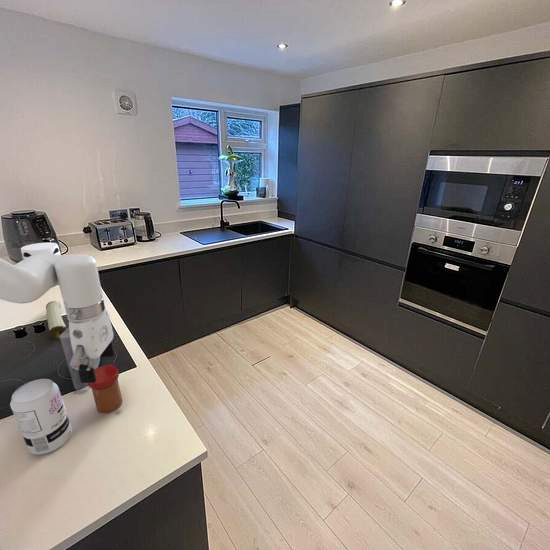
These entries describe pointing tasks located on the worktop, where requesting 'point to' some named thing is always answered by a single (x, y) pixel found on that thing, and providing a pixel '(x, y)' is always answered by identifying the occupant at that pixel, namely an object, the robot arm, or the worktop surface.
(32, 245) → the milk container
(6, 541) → the worktop surface
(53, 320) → the rolling pin
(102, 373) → the jam lid
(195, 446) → the worktop surface
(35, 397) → the supplement can
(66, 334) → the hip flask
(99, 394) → the jam jar
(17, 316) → the worktop surface
